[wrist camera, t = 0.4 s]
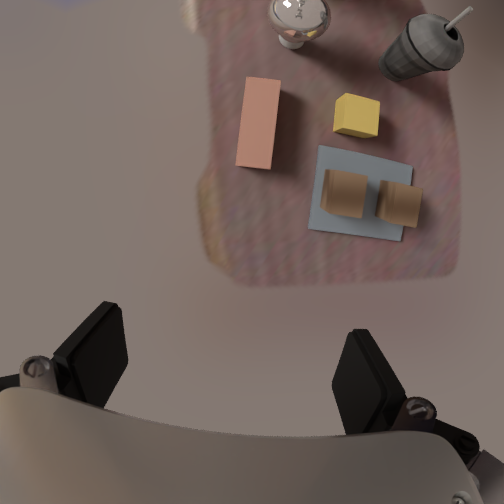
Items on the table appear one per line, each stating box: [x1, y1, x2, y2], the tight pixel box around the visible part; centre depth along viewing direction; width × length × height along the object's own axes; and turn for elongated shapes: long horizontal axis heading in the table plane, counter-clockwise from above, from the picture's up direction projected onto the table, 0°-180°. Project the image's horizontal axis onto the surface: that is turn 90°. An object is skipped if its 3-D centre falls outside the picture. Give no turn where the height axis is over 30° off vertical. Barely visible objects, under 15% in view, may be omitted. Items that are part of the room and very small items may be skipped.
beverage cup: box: [378, 7, 473, 81], centre depth 21 cm, size 7×7×20 cm
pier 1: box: [320, 169, 368, 218], centre depth 33 cm, size 5×4×5 cm
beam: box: [236, 77, 281, 169], centre depth 32 cm, size 11×4×4 cm, turn 173°
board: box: [308, 145, 413, 241], centre depth 35 cm, size 11×14×1 cm
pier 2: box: [375, 180, 423, 228], centre depth 33 cm, size 5×4×5 cm
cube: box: [333, 93, 380, 138], centre depth 31 cm, size 4×4×4 cm
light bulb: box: [267, 0, 331, 49], centre depth 24 cm, size 7×7×12 cm
